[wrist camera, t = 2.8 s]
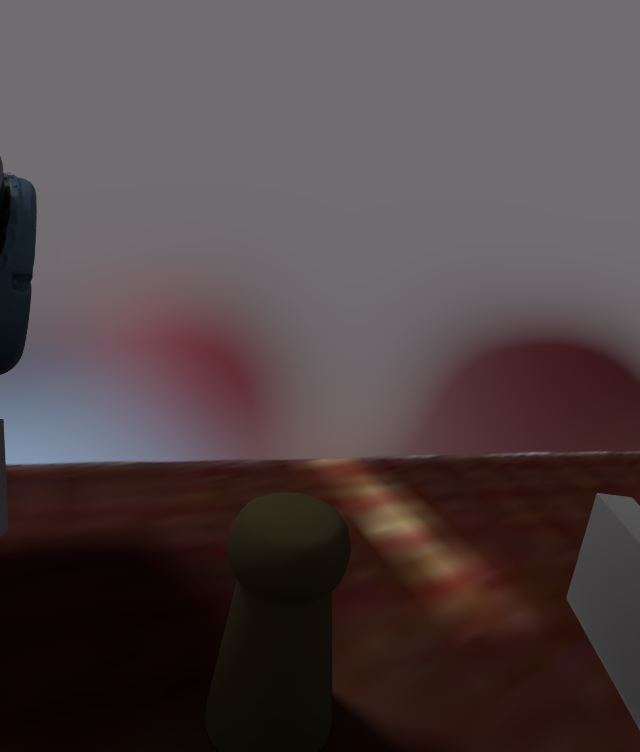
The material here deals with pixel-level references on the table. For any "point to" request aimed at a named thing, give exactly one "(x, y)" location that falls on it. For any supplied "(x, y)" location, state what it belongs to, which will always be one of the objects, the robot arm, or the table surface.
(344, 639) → the table surface
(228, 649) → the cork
